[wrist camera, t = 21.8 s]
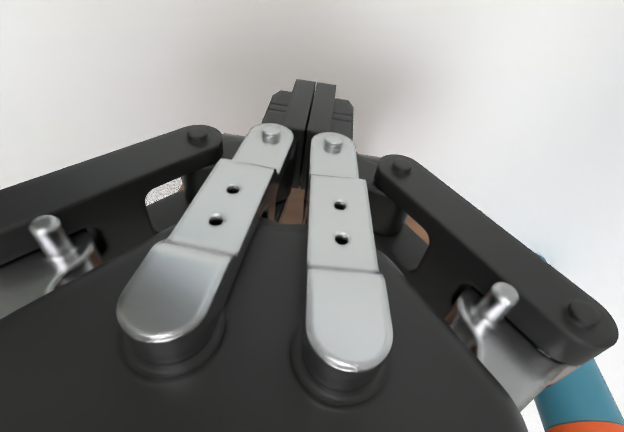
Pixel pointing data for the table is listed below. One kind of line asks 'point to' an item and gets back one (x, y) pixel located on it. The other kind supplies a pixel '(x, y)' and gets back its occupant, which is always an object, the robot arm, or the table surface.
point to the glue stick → (579, 403)
